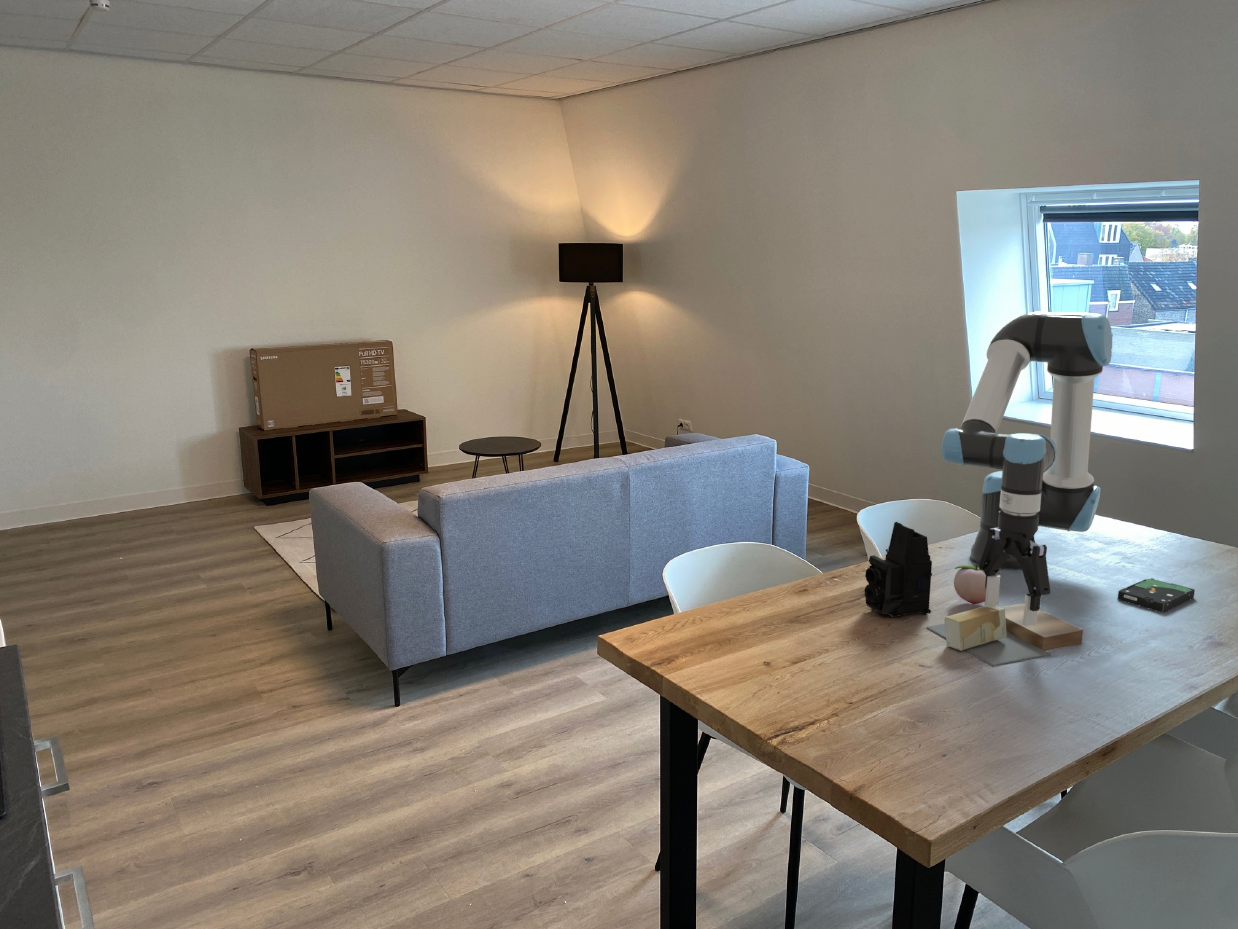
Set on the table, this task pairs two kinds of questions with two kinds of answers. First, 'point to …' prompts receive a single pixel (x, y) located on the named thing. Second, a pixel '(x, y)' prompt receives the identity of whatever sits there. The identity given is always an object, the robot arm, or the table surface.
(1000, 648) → the rubber mat
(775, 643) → the table surface
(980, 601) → the decorative fruit
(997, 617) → the skincare box
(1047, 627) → the walnut ledge
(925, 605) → the camera
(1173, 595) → the disk drive
